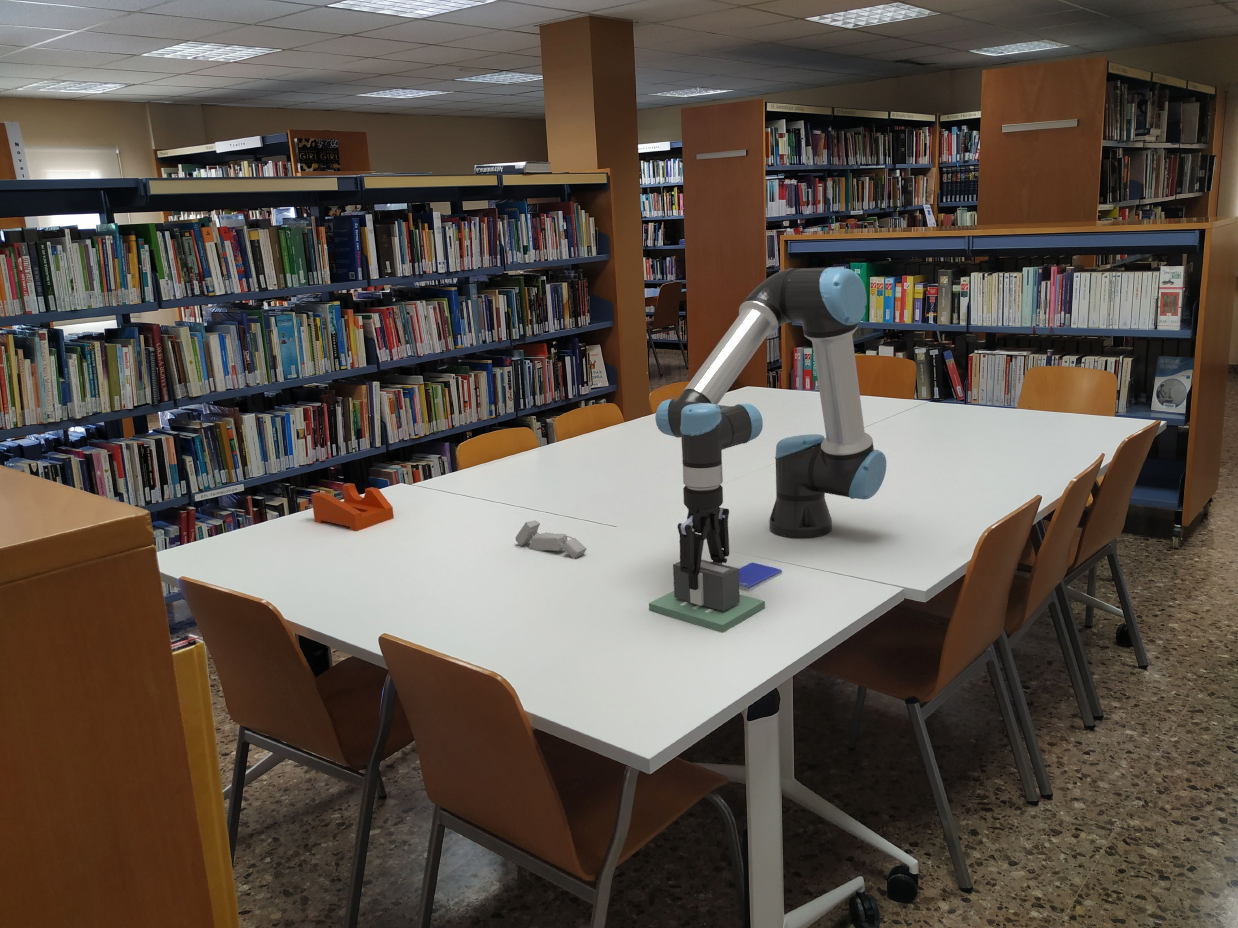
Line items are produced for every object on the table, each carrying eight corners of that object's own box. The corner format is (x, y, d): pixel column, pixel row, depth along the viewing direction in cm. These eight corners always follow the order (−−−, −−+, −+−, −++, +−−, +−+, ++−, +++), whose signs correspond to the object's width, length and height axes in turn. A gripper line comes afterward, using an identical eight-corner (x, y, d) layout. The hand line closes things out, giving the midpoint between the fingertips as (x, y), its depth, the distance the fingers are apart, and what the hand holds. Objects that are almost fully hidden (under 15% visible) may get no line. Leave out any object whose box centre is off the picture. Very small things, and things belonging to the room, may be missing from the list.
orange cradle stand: (315, 523, 257) (311, 494, 255) (352, 511, 267) (348, 483, 265) (356, 532, 246) (352, 502, 244) (394, 519, 256) (390, 490, 254)
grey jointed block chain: (514, 544, 228) (514, 518, 226) (524, 540, 231) (524, 514, 229) (576, 566, 216) (577, 539, 214) (587, 561, 219) (587, 534, 217)
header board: (692, 588, 195) (691, 563, 194) (764, 607, 183) (764, 581, 182) (649, 610, 185) (647, 584, 184) (722, 632, 173) (722, 604, 172)
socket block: (691, 588, 189) (689, 555, 188) (739, 602, 182) (738, 567, 180) (674, 597, 186) (672, 563, 184) (723, 611, 178) (722, 575, 176)
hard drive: (748, 586, 192) (782, 569, 200) (716, 578, 197) (750, 561, 206) (748, 593, 192) (782, 576, 201) (716, 585, 197) (750, 568, 206)
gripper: (715, 471, 187) (718, 580, 193) (656, 493, 174) (662, 609, 179) (746, 476, 182) (749, 588, 188) (688, 499, 169) (692, 618, 174)
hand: (706, 598), depth 184 cm, fingers closed on socket block, 5 cm apart
